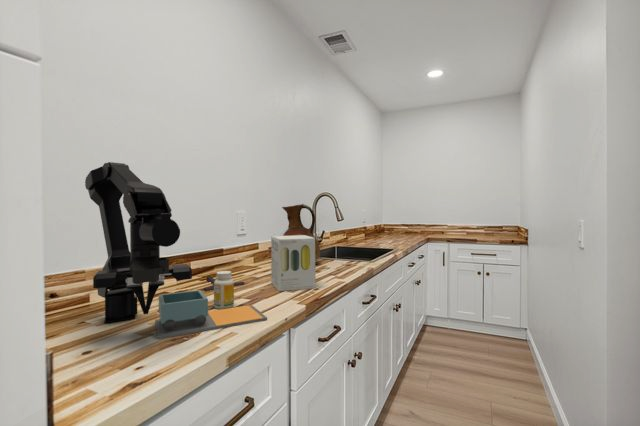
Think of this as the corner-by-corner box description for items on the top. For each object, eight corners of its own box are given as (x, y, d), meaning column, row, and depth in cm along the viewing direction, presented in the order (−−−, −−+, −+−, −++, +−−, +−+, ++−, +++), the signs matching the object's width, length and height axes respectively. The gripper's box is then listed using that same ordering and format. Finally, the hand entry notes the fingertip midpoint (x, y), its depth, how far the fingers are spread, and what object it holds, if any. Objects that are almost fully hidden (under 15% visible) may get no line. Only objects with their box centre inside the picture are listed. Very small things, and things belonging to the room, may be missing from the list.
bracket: (225, 280, 130) (225, 273, 130) (244, 286, 119) (244, 278, 119) (188, 286, 120) (188, 278, 120) (205, 293, 109) (205, 285, 109)
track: (158, 339, 69) (158, 335, 69) (155, 322, 79) (155, 319, 79) (267, 320, 80) (267, 317, 80) (252, 307, 91) (252, 304, 91)
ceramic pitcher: (279, 261, 171) (279, 204, 170) (318, 260, 173) (317, 204, 173) (279, 268, 151) (278, 203, 151) (322, 267, 153) (322, 203, 153)
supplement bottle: (212, 309, 89) (211, 274, 89) (216, 303, 94) (216, 270, 94) (232, 308, 90) (232, 273, 89) (235, 303, 95) (235, 270, 95)
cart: (161, 331, 70) (161, 304, 70) (158, 319, 78) (158, 294, 78) (208, 324, 75) (207, 298, 75) (200, 312, 83) (200, 289, 83)
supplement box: (278, 291, 108) (277, 238, 108) (270, 283, 121) (270, 235, 120) (316, 288, 112) (316, 237, 112) (305, 280, 125) (305, 234, 125)
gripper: (89, 250, 61) (90, 333, 61) (195, 244, 70) (195, 317, 70) (96, 244, 71) (97, 316, 71) (188, 240, 80) (189, 304, 80)
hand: (145, 313), depth 73 cm, fingers closed
